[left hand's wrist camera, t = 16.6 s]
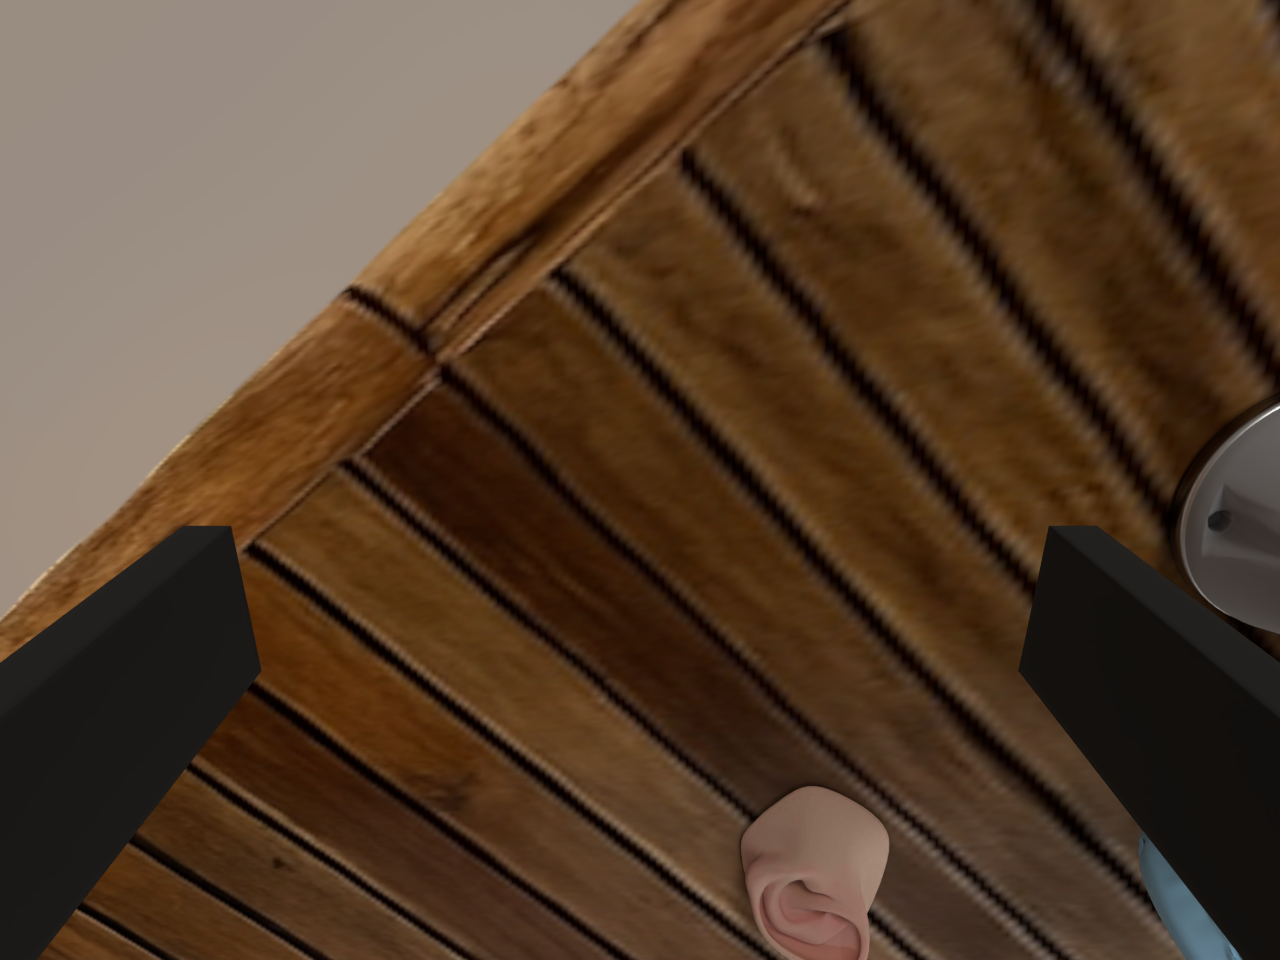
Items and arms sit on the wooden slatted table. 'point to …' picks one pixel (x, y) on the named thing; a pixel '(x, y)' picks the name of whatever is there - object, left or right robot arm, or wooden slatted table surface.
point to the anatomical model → (814, 874)
